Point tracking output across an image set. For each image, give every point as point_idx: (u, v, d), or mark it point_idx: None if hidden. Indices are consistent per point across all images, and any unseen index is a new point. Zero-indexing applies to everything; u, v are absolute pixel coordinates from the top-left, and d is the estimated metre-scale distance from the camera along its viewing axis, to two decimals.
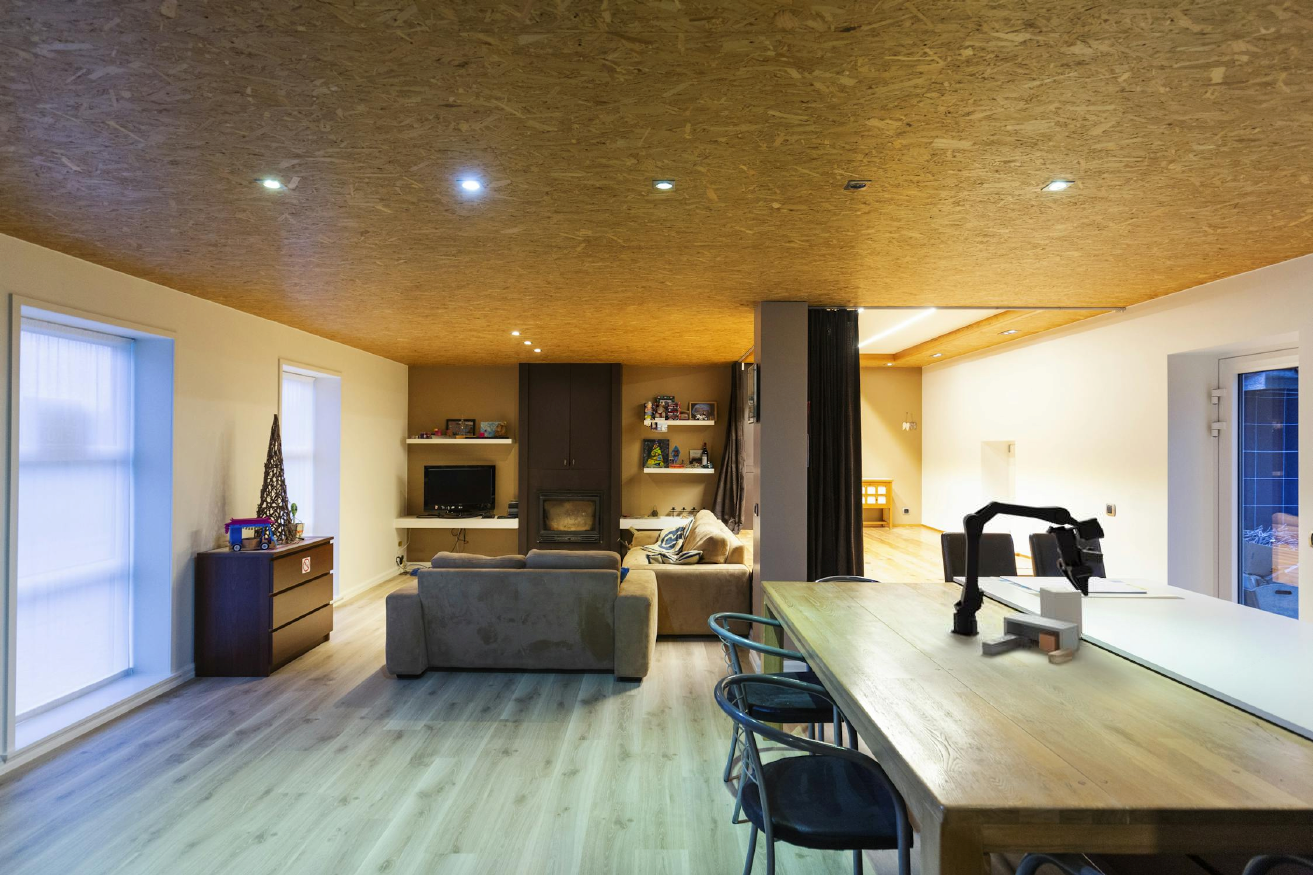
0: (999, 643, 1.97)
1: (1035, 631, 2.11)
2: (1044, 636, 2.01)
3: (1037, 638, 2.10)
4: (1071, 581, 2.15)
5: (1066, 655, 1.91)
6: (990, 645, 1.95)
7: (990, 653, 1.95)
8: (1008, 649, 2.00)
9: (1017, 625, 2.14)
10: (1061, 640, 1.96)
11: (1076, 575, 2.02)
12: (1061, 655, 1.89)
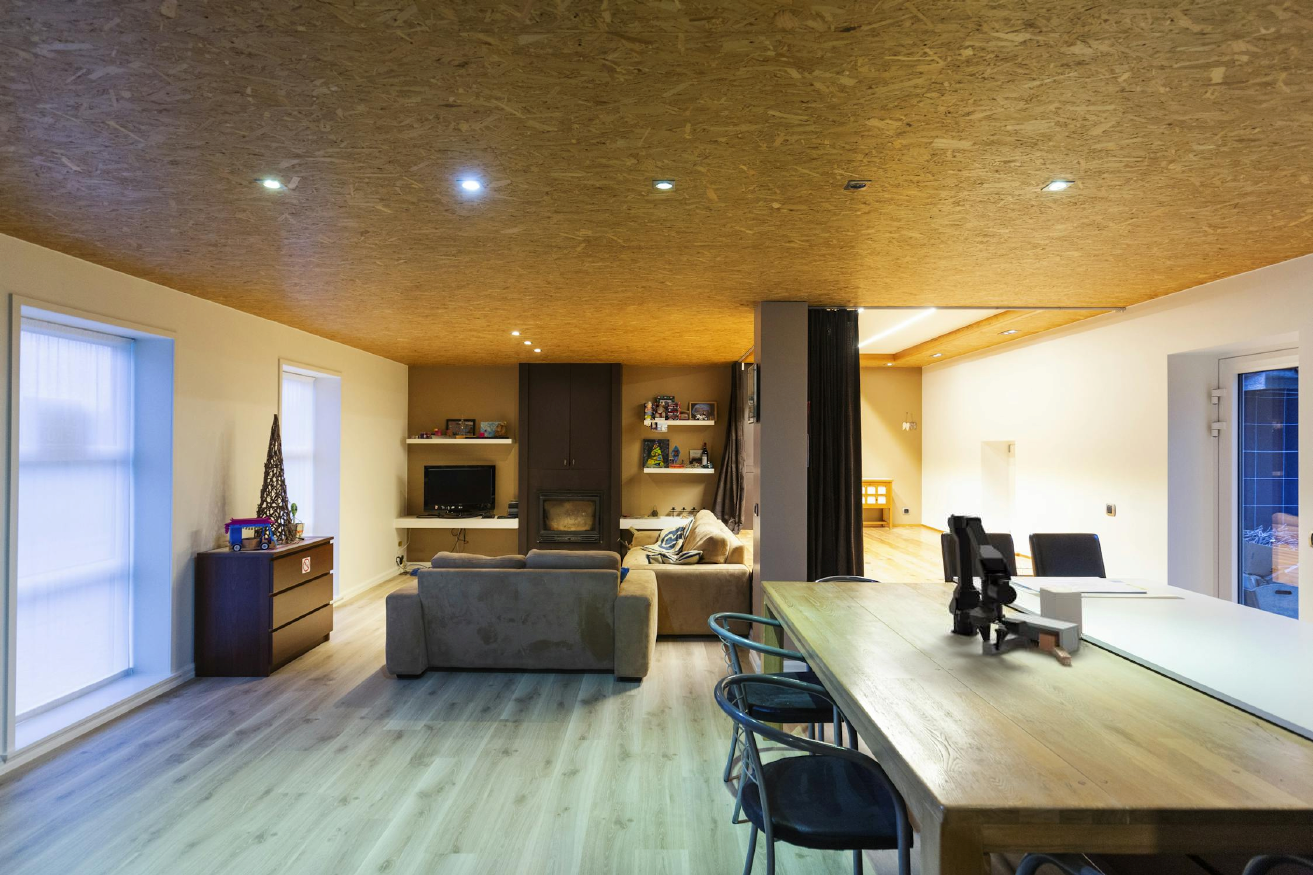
0: None
1: (1035, 631, 2.11)
2: (1044, 636, 2.01)
3: (1037, 638, 2.10)
4: None
5: None
6: (990, 645, 1.95)
7: (990, 653, 1.95)
8: (1008, 649, 2.00)
9: None
10: (1061, 640, 1.96)
11: None
12: None
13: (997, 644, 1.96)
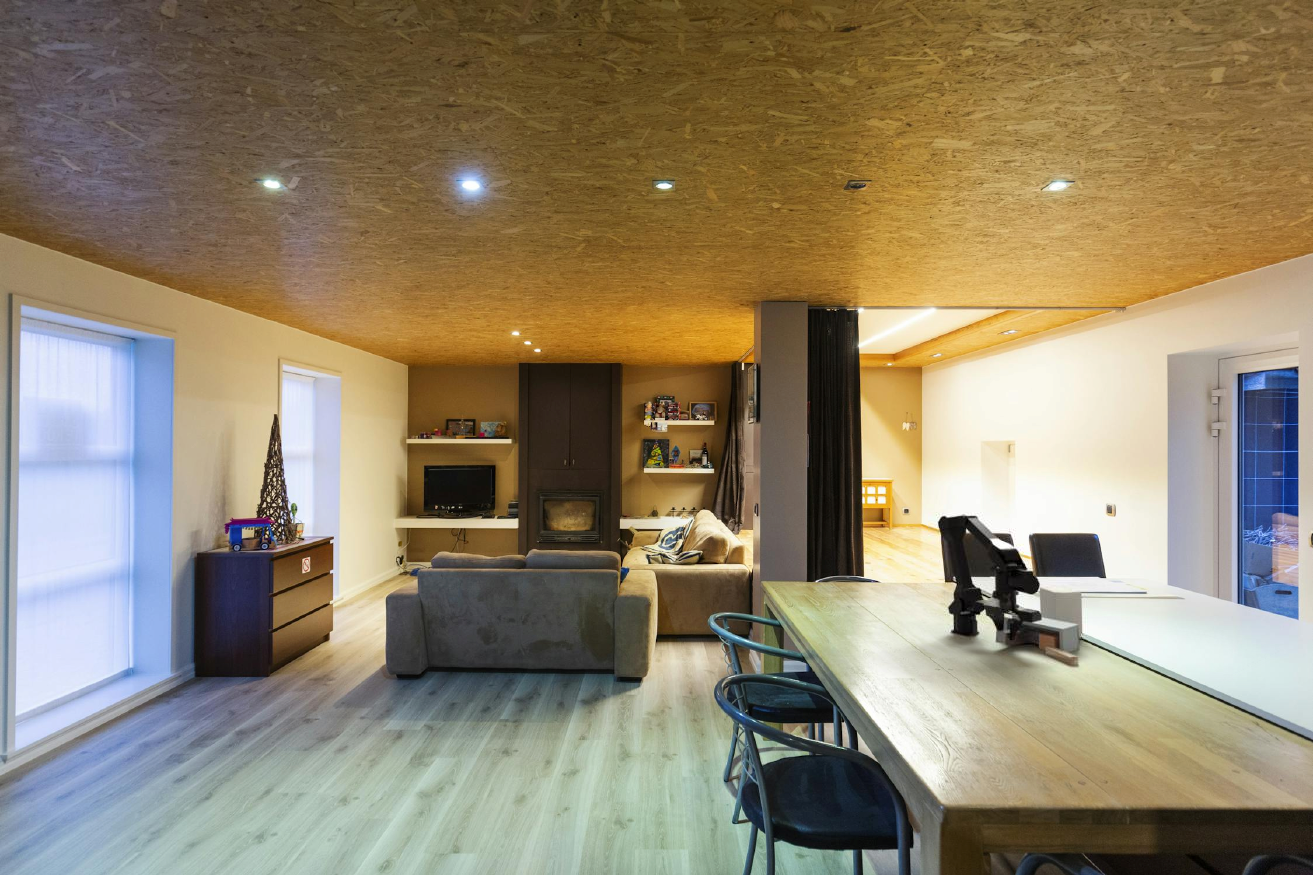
0: None
1: None
2: (1044, 636, 2.01)
3: None
4: None
5: None
6: (1004, 633, 2.00)
7: (1003, 641, 1.99)
8: (1021, 641, 2.04)
9: None
10: (1061, 640, 1.96)
11: None
12: None
13: (1011, 634, 2.00)
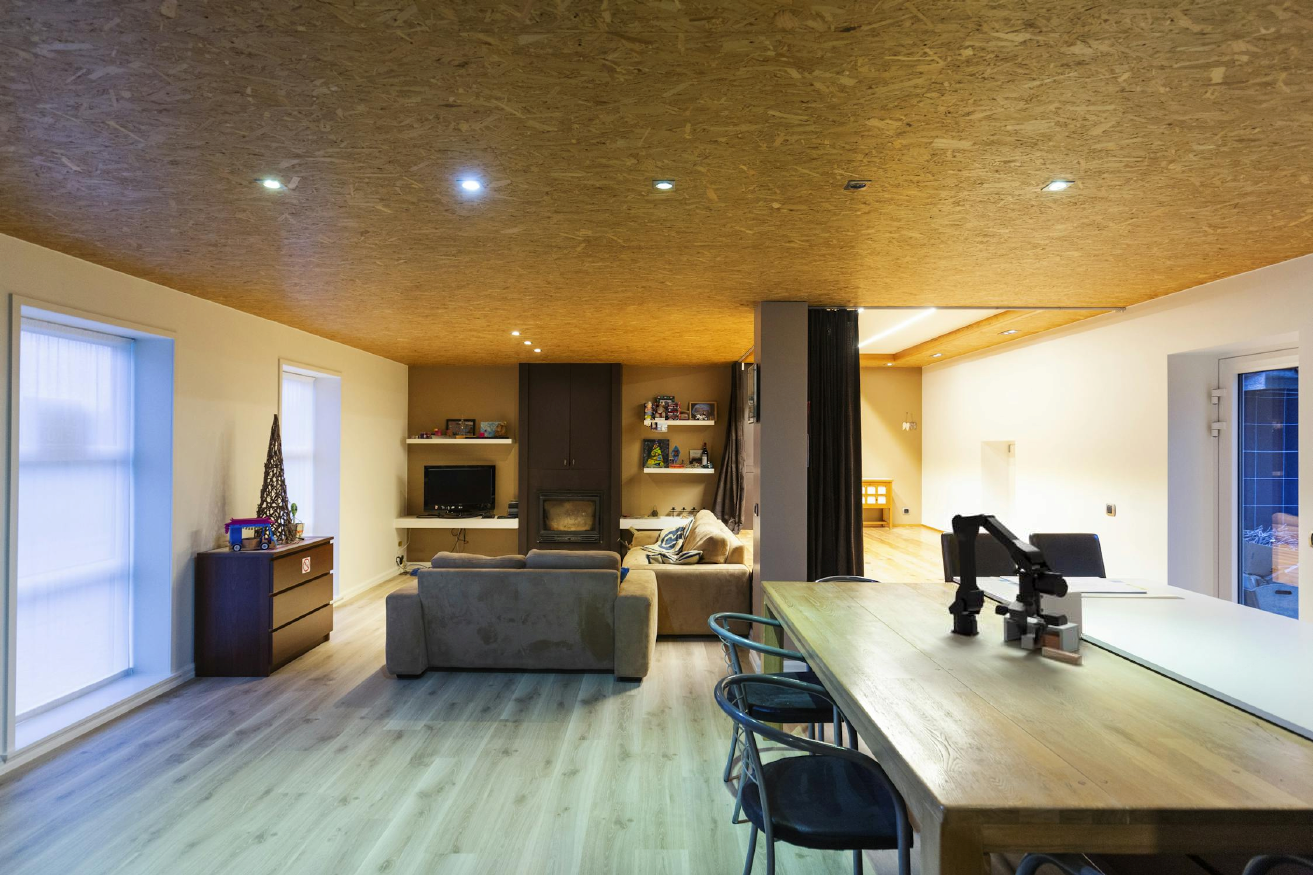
0: None
1: None
2: (1051, 637, 2.00)
3: None
4: None
5: None
6: (1031, 638, 1.94)
7: (1030, 646, 1.94)
8: (1042, 645, 1.99)
9: None
10: (1061, 640, 1.96)
11: None
12: None
13: (1036, 638, 1.95)
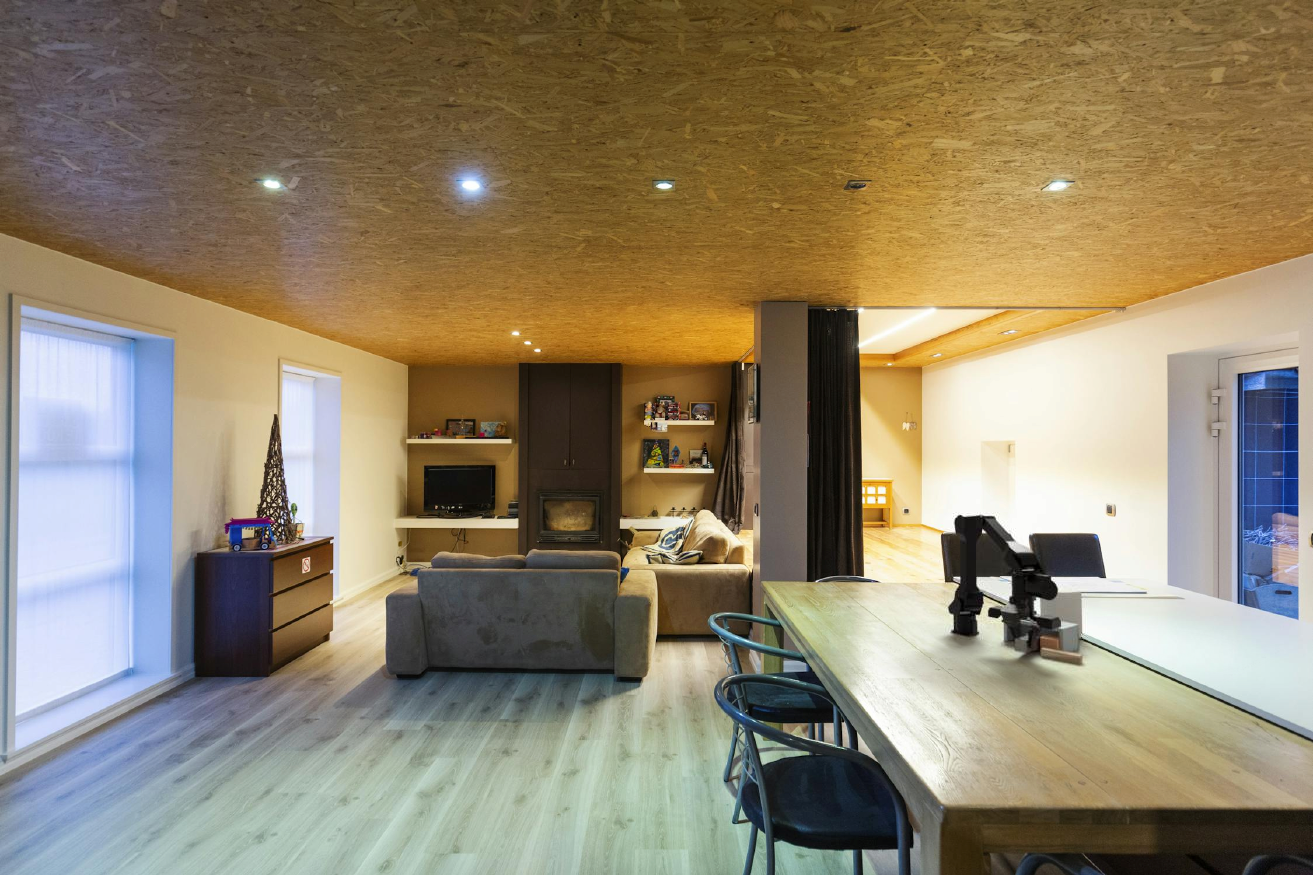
0: None
1: None
2: (1046, 639, 1.97)
3: None
4: None
5: None
6: (1024, 641, 1.91)
7: (1024, 649, 1.91)
8: (1036, 648, 1.97)
9: None
10: (1061, 640, 1.96)
11: None
12: None
13: (1029, 641, 1.92)
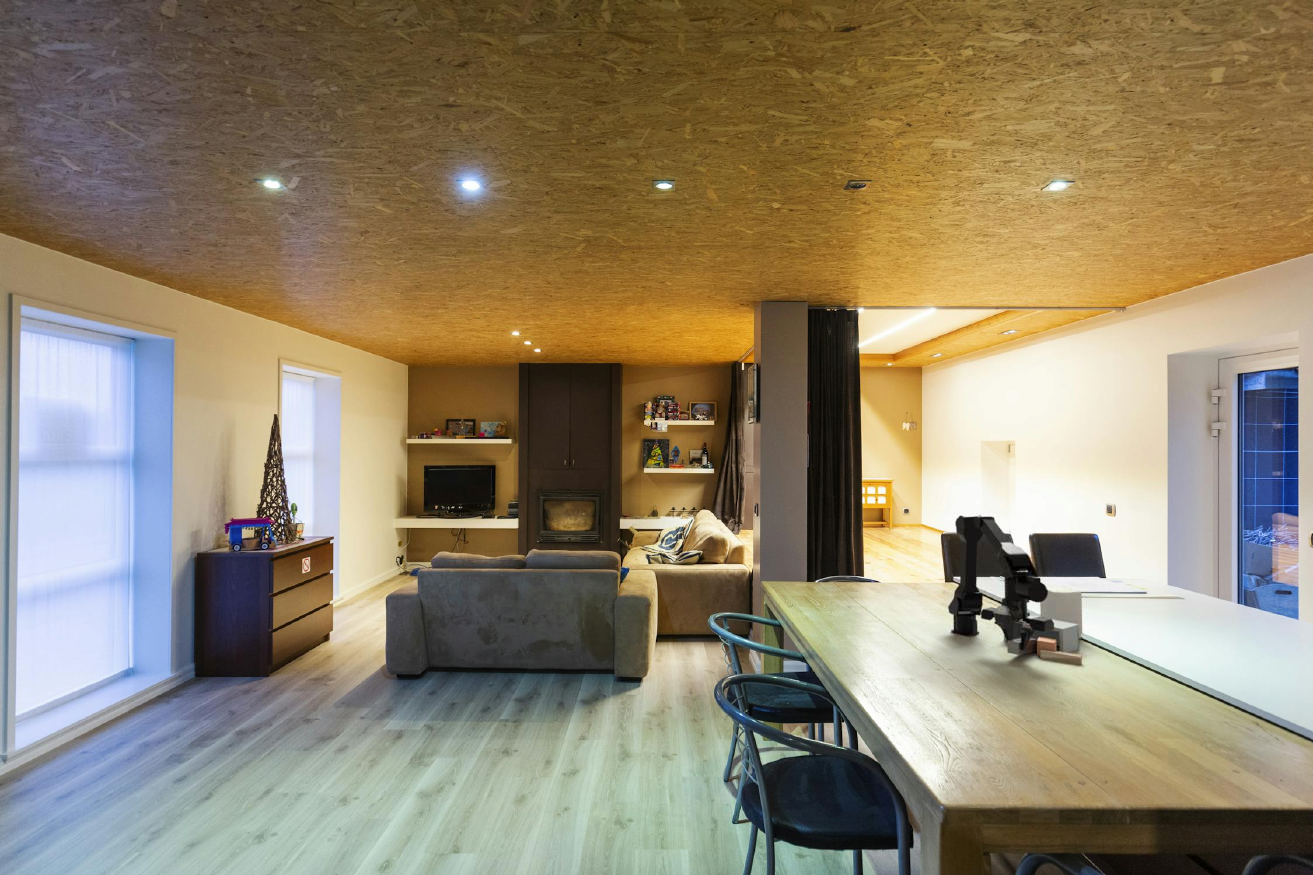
0: None
1: (1035, 631, 2.11)
2: (1043, 642, 1.94)
3: None
4: None
5: None
6: (1017, 643, 1.89)
7: (1016, 652, 1.89)
8: (1029, 650, 1.95)
9: (1017, 625, 2.14)
10: (1061, 640, 1.96)
11: None
12: None
13: (1022, 643, 1.90)
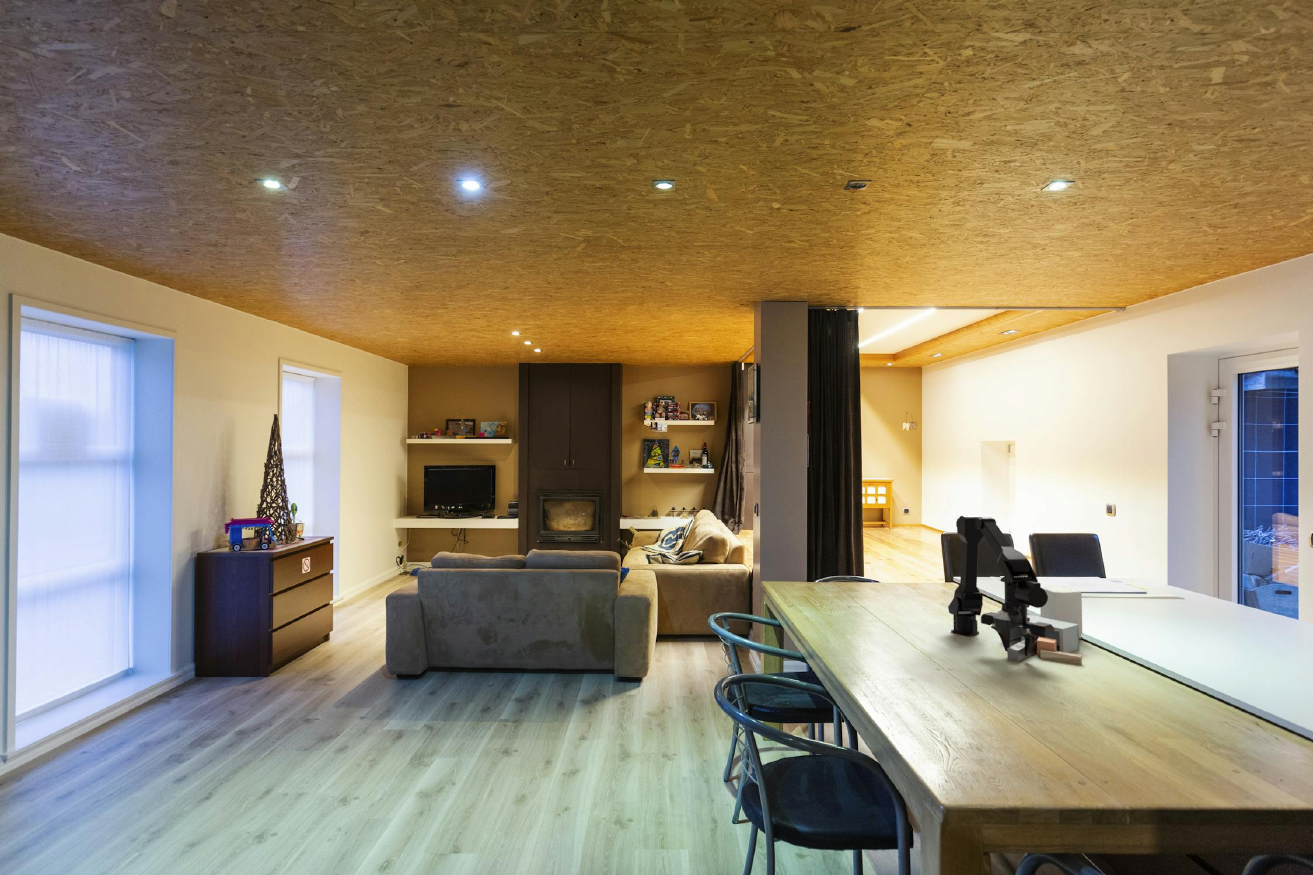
0: (1023, 649, 1.92)
1: None
2: (1043, 642, 1.94)
3: None
4: None
5: None
6: (1016, 651, 1.89)
7: (1016, 659, 1.89)
8: (1030, 654, 1.95)
9: None
10: (1061, 640, 1.96)
11: None
12: None
13: (1025, 649, 1.89)
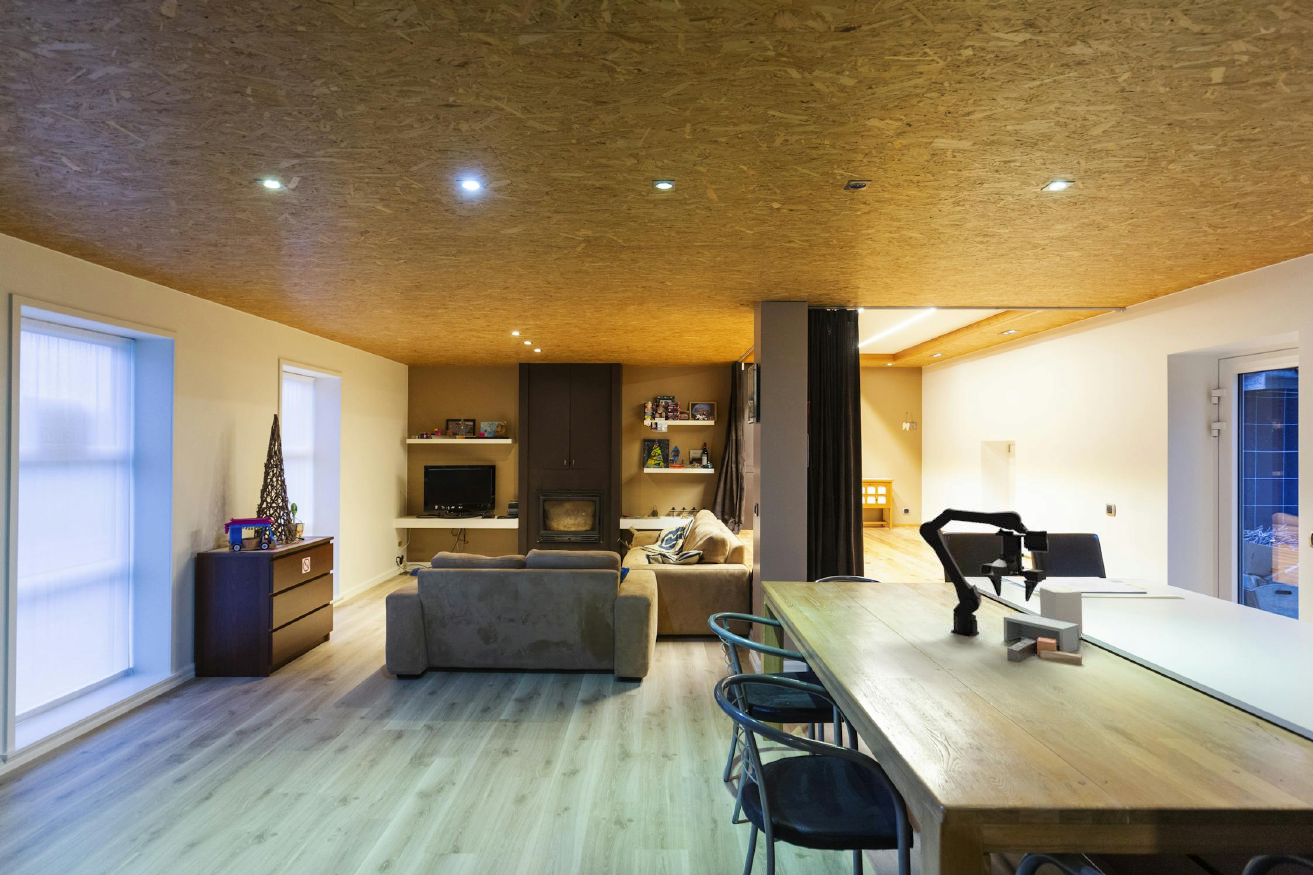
0: (1023, 649, 1.92)
1: (1035, 631, 2.11)
2: (1043, 642, 1.94)
3: None
4: None
5: None
6: (1016, 651, 1.89)
7: (1016, 660, 1.89)
8: (1030, 654, 1.95)
9: (1017, 625, 2.14)
10: (1061, 640, 1.96)
11: None
12: None
13: (1026, 595, 2.08)
